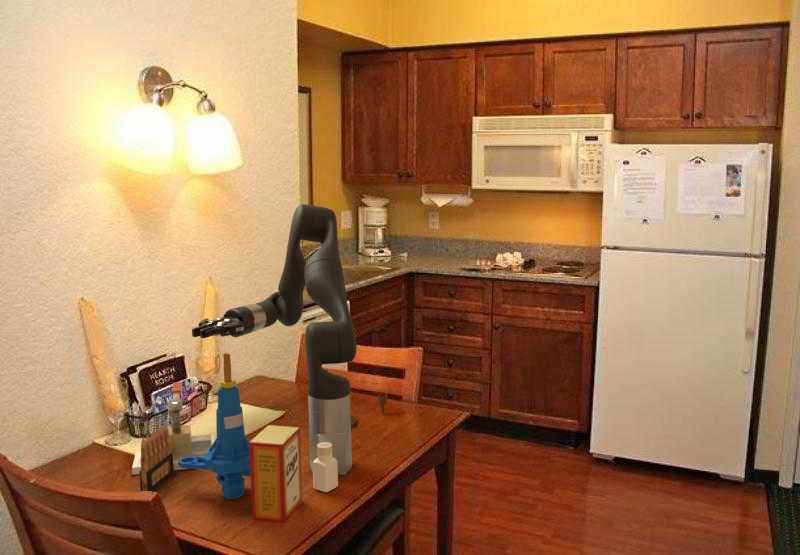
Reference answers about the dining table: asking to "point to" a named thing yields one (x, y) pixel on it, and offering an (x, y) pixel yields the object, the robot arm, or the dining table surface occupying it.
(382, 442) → the dining table surface
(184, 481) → the dining table surface
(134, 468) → the mounting board
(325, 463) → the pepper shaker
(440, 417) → the dining table surface
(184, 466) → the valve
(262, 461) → the baking soda box
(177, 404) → the valve lever
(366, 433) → the dining table surface
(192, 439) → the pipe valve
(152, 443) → the ammunition clip
